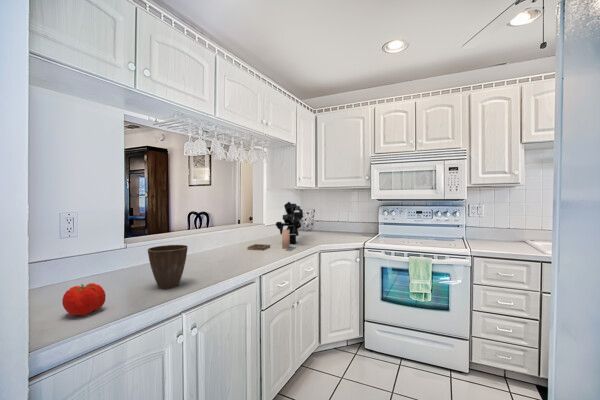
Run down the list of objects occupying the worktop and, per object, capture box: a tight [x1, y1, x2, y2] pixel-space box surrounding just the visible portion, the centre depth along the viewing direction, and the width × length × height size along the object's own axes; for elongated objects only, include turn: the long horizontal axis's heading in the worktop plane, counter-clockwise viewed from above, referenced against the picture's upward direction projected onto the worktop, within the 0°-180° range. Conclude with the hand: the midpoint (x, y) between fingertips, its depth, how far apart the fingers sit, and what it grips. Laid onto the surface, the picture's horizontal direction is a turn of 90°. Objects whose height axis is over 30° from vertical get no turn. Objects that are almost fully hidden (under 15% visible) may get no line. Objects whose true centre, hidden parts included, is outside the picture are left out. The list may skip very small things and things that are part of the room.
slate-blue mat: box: [284, 246, 296, 252], centre depth 196 cm, size 11×11×1 cm
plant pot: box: [147, 244, 188, 290], centre depth 114 cm, size 15×15×16 cm
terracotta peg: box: [281, 229, 291, 250], centre depth 196 cm, size 5×5×13 cm
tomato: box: [61, 282, 107, 317], centre depth 88 cm, size 11×11×9 cm
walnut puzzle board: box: [246, 243, 271, 251], centre depth 195 cm, size 12×12×2 cm
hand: (286, 234), depth 202 cm, fingers open, 9 cm apart
